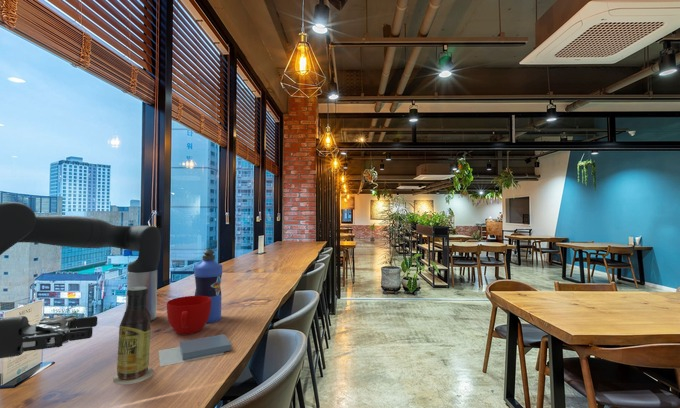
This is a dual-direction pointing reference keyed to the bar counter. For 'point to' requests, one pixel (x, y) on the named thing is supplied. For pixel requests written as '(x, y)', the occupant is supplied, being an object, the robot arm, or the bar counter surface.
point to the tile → (204, 346)
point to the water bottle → (209, 283)
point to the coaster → (145, 376)
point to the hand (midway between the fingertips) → (94, 326)
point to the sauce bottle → (134, 336)
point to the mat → (177, 356)
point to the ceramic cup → (188, 313)
